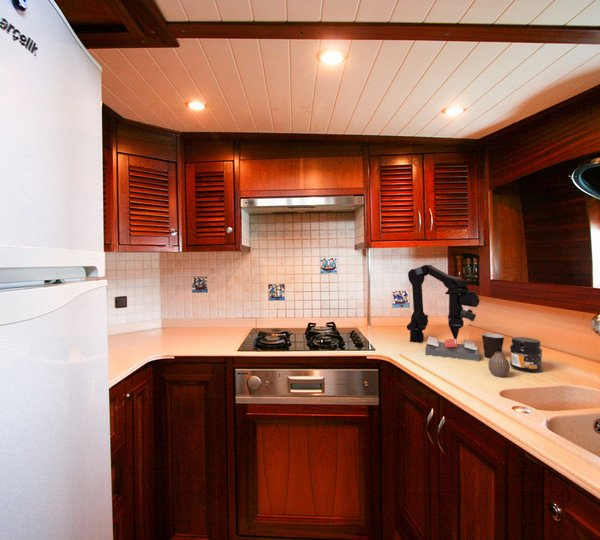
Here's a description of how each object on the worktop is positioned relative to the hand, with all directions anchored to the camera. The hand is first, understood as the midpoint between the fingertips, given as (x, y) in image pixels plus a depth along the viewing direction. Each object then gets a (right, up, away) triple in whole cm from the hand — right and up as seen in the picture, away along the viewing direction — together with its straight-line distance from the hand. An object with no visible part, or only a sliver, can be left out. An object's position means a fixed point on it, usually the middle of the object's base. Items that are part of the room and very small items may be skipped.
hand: (455, 336), depth 151 cm
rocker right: (+6, -3, -3) cm, 7 cm away
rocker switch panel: (-2, -8, -1) cm, 8 cm away
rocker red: (-2, -3, +1) cm, 4 cm away
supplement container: (+17, -8, -23) cm, 30 cm away
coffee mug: (+15, -8, -7) cm, 18 cm away
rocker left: (-9, -3, +4) cm, 10 cm away
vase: (+2, -9, -30) cm, 32 cm away
